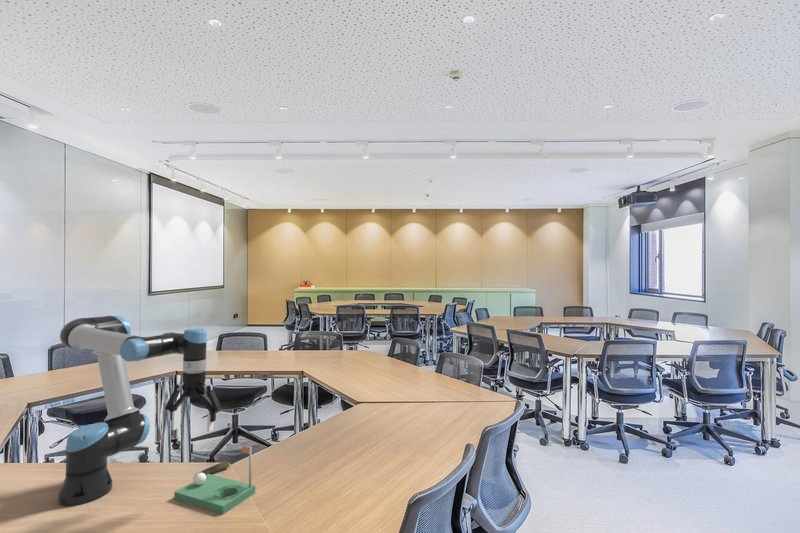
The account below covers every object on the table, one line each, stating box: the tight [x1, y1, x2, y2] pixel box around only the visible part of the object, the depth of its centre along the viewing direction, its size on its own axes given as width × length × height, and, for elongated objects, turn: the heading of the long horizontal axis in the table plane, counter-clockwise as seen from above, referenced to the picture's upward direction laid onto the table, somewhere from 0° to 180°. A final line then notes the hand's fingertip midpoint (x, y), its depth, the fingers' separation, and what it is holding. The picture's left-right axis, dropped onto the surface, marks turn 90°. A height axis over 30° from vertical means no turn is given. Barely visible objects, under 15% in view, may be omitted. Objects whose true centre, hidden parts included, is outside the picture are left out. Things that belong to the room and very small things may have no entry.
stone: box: [194, 461, 231, 477], centre depth 154 cm, size 13×5×2 cm, turn 141°
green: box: [173, 445, 256, 515], centre depth 137 cm, size 24×14×16 cm, turn 66°
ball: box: [193, 472, 206, 485], centre depth 140 cm, size 4×4×4 cm
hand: (192, 429), depth 141 cm, fingers open, 13 cm apart
